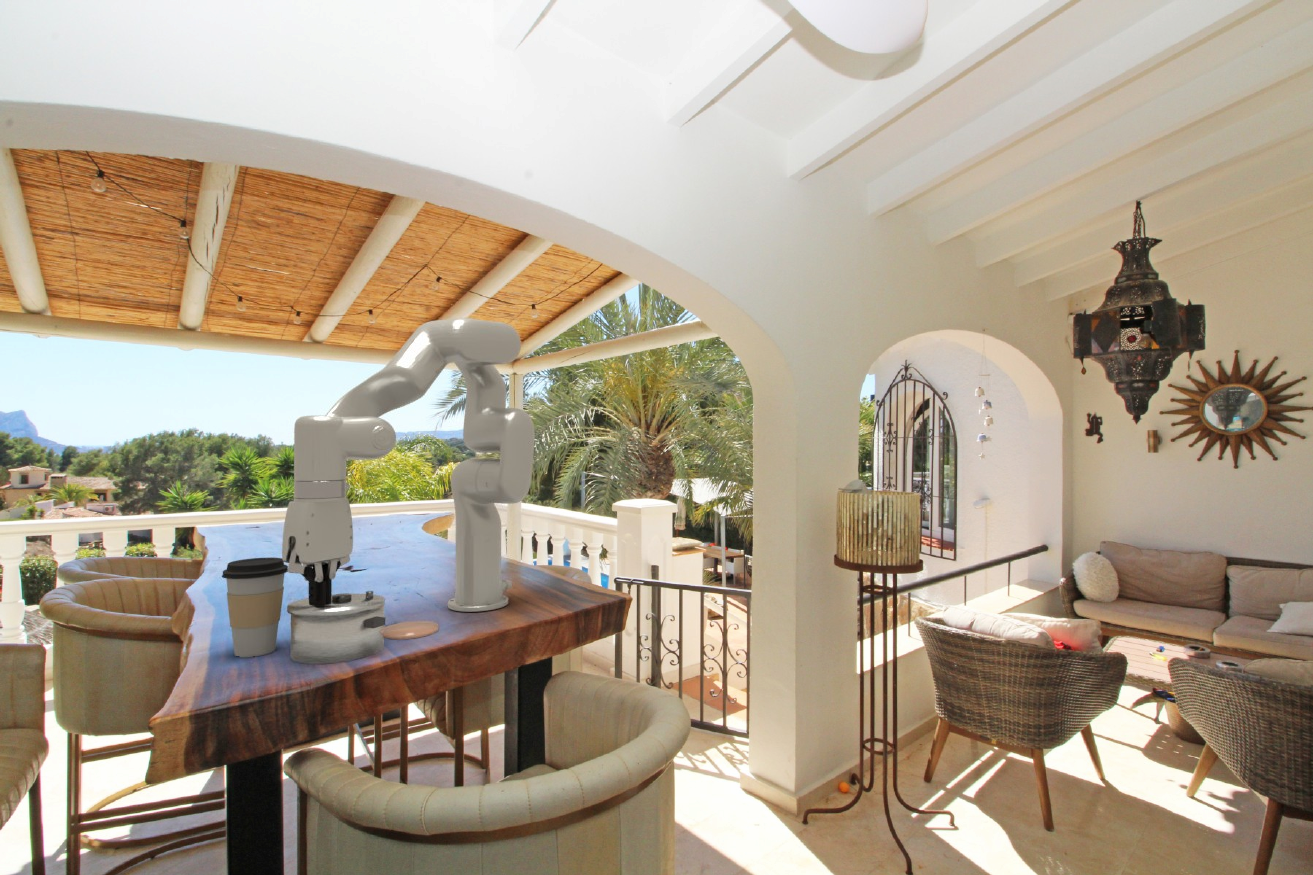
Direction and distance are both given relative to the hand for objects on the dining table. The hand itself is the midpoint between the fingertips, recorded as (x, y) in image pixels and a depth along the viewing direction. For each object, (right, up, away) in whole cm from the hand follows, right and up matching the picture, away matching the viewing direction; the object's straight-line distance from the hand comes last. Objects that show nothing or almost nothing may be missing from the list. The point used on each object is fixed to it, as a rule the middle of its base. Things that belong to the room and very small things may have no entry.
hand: (320, 604), depth 103 cm
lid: (+1, -1, +3) cm, 3 cm away
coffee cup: (-12, -9, +2) cm, 15 cm away
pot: (+1, -8, +3) cm, 9 cm away
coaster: (+9, -9, +14) cm, 19 cm away
